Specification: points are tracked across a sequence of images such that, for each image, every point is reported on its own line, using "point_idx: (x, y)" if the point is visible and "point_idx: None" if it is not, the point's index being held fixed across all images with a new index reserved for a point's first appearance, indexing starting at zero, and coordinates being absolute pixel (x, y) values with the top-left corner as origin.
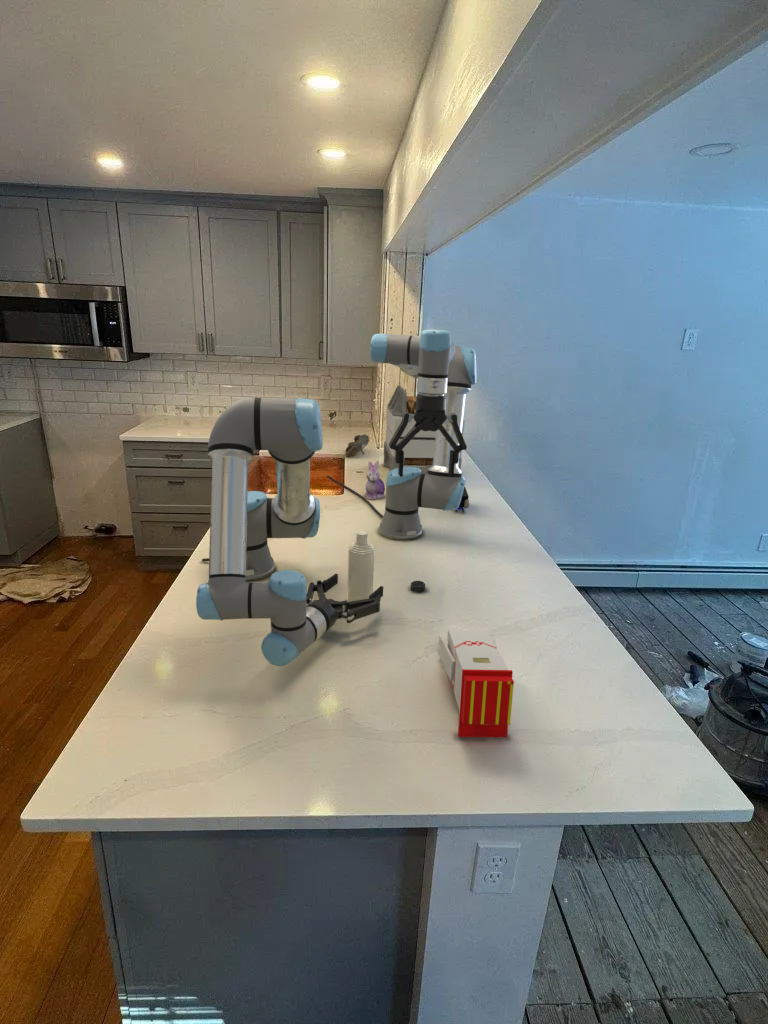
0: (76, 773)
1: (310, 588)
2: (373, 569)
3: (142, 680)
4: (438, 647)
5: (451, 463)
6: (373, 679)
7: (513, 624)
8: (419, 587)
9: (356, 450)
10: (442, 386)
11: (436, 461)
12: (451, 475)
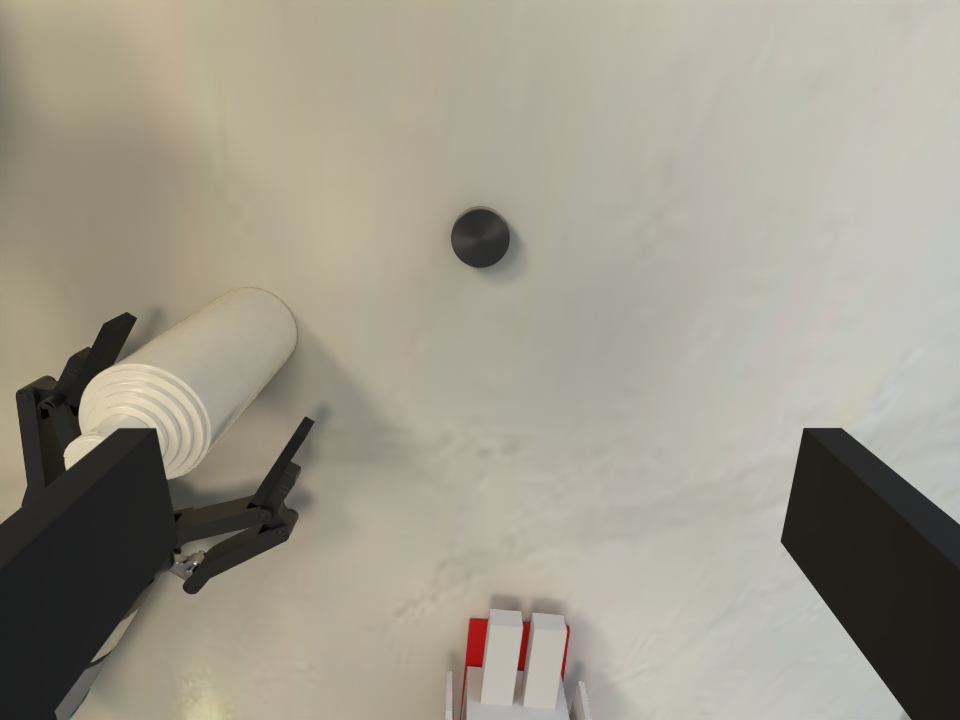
0: None
1: (29, 434)
2: (249, 394)
3: None
4: (446, 686)
5: (887, 660)
6: (296, 663)
7: (732, 480)
8: (479, 267)
9: None
10: None
11: None
12: (796, 554)
